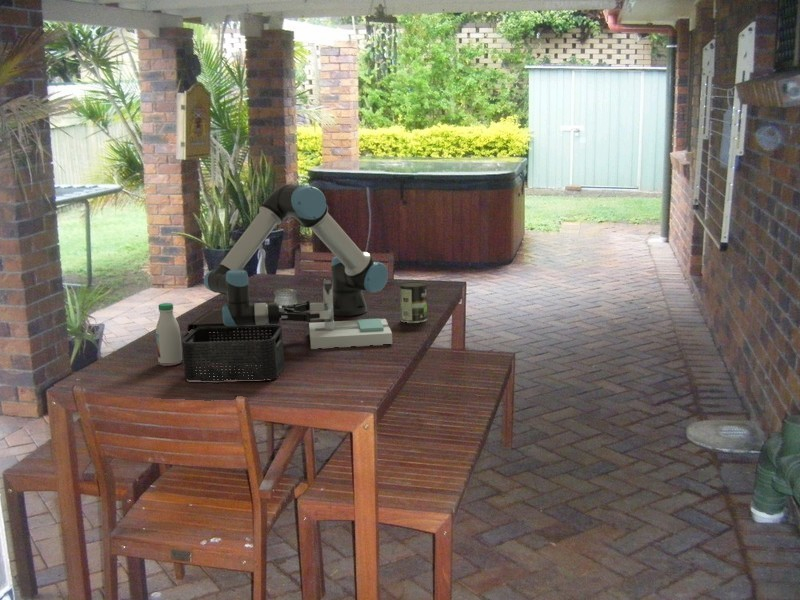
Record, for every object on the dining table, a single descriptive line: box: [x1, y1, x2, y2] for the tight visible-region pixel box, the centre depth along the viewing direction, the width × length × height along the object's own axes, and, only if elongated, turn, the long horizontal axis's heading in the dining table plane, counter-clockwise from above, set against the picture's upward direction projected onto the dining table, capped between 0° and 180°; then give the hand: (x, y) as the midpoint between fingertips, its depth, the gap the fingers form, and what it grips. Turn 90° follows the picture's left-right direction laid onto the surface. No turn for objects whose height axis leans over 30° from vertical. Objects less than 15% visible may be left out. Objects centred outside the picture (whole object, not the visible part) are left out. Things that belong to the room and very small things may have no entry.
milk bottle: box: [155, 302, 183, 363], centre depth 297 cm, size 8×8×20 cm
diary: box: [187, 308, 231, 332], centre depth 348 cm, size 19×25×5 cm
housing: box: [308, 318, 393, 350], centre depth 324 cm, size 22×28×4 cm
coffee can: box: [399, 281, 428, 324], centre depth 348 cm, size 10×10×14 cm
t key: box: [322, 279, 335, 331], centre depth 321 cm, size 7×3×20 cm, turn 7°
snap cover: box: [357, 318, 384, 332], centre depth 324 cm, size 14×8×1 cm, turn 7°
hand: (328, 310), depth 321 cm, fingers open, 13 cm apart
